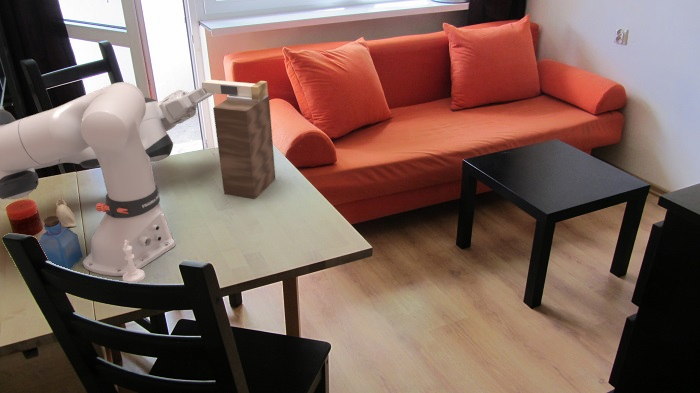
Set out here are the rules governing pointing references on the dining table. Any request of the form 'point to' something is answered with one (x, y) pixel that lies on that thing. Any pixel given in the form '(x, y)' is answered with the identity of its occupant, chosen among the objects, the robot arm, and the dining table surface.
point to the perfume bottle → (60, 243)
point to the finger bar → (228, 87)
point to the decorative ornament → (65, 215)
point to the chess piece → (131, 266)
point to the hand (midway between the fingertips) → (213, 86)
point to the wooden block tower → (245, 142)
